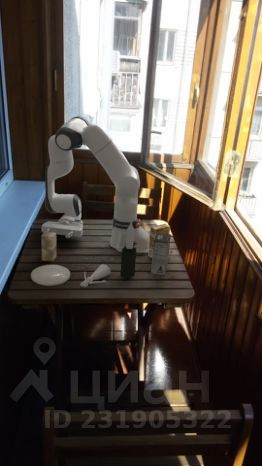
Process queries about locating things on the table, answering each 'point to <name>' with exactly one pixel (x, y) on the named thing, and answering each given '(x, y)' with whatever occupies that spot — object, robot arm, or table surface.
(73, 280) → the table surface
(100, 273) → the woman figurine
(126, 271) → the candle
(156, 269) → the coffee box
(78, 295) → the table surface
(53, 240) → the maple block
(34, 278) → the plate
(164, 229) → the candy box
